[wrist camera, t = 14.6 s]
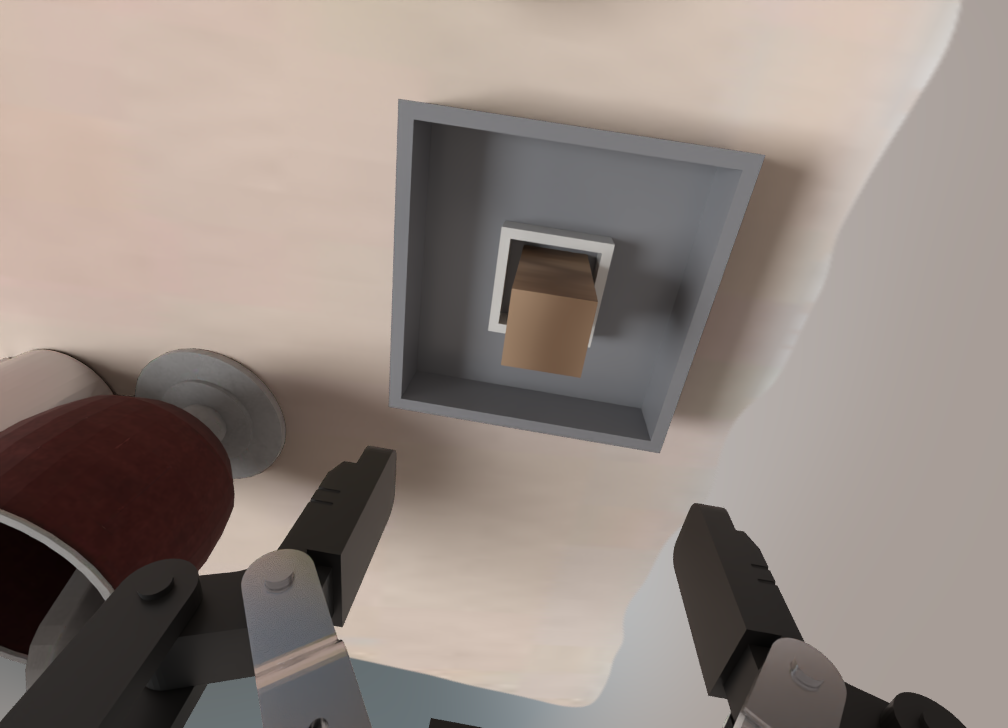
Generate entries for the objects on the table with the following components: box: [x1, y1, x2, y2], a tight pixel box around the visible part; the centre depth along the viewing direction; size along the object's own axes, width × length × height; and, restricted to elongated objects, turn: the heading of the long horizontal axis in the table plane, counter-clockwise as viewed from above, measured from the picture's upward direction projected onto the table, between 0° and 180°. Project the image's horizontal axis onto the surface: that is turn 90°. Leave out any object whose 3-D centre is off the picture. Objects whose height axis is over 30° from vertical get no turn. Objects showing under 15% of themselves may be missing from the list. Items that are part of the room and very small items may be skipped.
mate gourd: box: [0, 348, 286, 692], centre depth 31 cm, size 16×14×20 cm
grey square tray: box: [389, 99, 765, 453], centre depth 30 cm, size 18×18×5 cm
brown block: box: [501, 245, 598, 378], centre depth 27 cm, size 4×4×9 cm
